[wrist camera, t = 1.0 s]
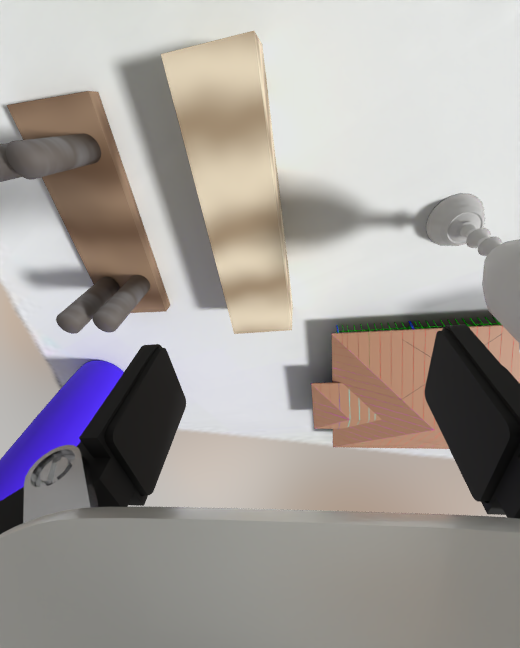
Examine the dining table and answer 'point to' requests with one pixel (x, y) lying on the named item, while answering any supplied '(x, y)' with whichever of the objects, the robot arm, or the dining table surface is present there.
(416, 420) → the house
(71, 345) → the dining table surface
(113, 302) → the peg stand
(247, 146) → the shelf board
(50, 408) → the bottle
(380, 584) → the robot arm
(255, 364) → the dining table surface
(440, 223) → the chalice
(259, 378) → the dining table surface
